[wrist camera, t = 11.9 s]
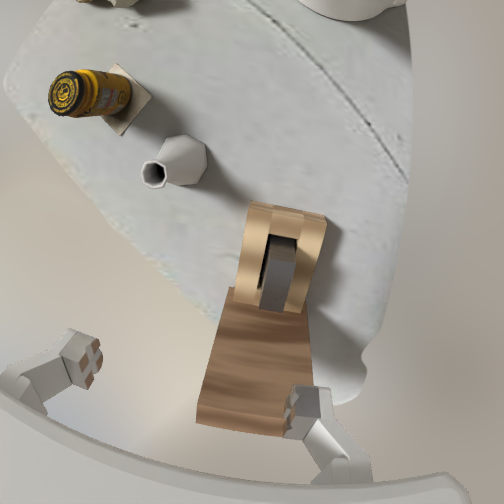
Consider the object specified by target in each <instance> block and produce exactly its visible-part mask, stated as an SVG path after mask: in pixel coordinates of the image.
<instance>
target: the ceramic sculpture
mask: <svg viewBox="0 0 504 504" xmlns="http://www.w3.org/2000/svg"><path fill="white" fill-rule="evenodd" d="M77 1H78V2H80V3H86V2H89V1H92V0H77ZM108 1H110V2H112V4H113V6H114V7H118V8H126V7H129V6H132V5H134V4H135V3H136V2H138V1H139V0H108Z"/></svg>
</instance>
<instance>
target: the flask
mask: <svg viewBox="0 0 504 504" xmlns="http://www.w3.org/2000/svg"><path fill="white" fill-rule="evenodd" d="M207 166H208V164H207V156H206V149H205V144H204V143H202V142H200V141H198V140H196V139H194V138H193V137H191V136H189V135H187V134H184V135H178V136H173V137H167V138H166V139H165V141H164V143H163V145H162V147H161V149H160V151H159V153H158V155H157V158H156V159H155V160H151V161H146V162H145V163H144V165H143V168H142V170H141V178H142V183H143V184H144V185H146V186H147V187H149V188H151V189H157V188H163V187H164V186H165V184H166V182H168V183H172V184H174V185H177V186H180V185H189V184H197V183H198V182H199V180H200V178H201V176H202V175H203V173H204V171H205V169H206V168H207Z"/></svg>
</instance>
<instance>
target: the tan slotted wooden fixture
mask: <svg viewBox="0 0 504 504" xmlns="http://www.w3.org/2000/svg"><path fill="white" fill-rule="evenodd" d="M326 228H327V222H326V220H325V217H324V215H320V214H316V213H311V212H306V211H301V210H296V209H292V208H287V207H282V206H277V205H272V204H266V203H261V202H256V201H251V202H250V205H249V208H248V214H247V219H246V225H245V231H244V237H243V242H242V248H241V254H240V260H239V266H238V272H237V278H236V284H235V288H233V287H229V290H228V294H227V297H226V301H225V304H224V308H223V311H222V315H221V319H220V322H219V326H218V329H217V333H216V337H215V340H214V344H213V347H212V351H211V355H210V358H209V362H208V366H207V369H206V373H205V377H204V380H203V385H202V388H201V392H200V395H199V399H198V403H197V414H196V423H199V424H203V425H207V426H212V427H217V428H223V429H228V430H234V431H240V432H246V433H253V434H260V435H268V436H277V437H283V424H284V422H285V420H286V419H285V418H284V416H283V411H284V404H285V400H286V398H287V395H289V394H290V389H291V386H292V385H293V384H301V385H311V386H314V384H313V372H312V360H311V349H310V338H309V328H308V318H307V309H306V301H305V298H306V295H307V292H308V289H309V285H310V282H311V279H312V276H313V272H314V269H315V266H316V262H317V259H318V256H319V252H320V249H321V245H322V242H323V238H324V235H325V231H326ZM268 233H269V234H274V235H279V236H285V237H290V238H295V243H294V245H295V256H296V267H295V270H294V274H293V278H292V281H291V285H290V289H289V292H288V296H287V299H286V303H285V306H284V310H283V313H279V312H273V311H267V310H262V309H259V301H260V292H261V283H262V277H259V275H260V271H261V266H262V261H263V256H264V252H265V247H266V242H267V237H268Z"/></svg>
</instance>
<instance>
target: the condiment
mask: <svg viewBox="0 0 504 504" xmlns="http://www.w3.org/2000/svg"><path fill="white" fill-rule="evenodd" d="M151 98H152V96H151V95H150V94H149V93H148V92H147V91H146V90H145V89H143V88H142V87H141V86H140V85H139V84H138V83H137V82H136V81H135V80H134V79H133V78H132V77H131V76H130V75H129V74H127V73H126V72H125V71H124V70H123V69H122V68H121V67H120V66H119V65H118V64H116V63H115V64H114V65H113V67H112V68H111V69H110V70H109V72H108V73H107V72H102V71H95V70H86V69H82V70H77V71H66V72H63V73H61V74H60V75H58V76H57V77H56V78H55V80H54V81H53V83H52V85H51V86H50V90H49V94H48V102H49V106H50V108H51V110H52V111H53V112H54V113H55V114H57V115H58V116H70V117H73V118H80V117H90V116H101V117H102V118H103V119H104V121H105V122H106V123H108V125H109V126H111V128H112V129H113V130H114V131H115V132H116V133H117V134H118V135H119V136H120V135H121V134H122V132H123V131H124V130H125V129H126V128H127V126H128V125H129V124H130V123H131V122H132V120H133V119H134V118H135V117H136V115H137V114H138V113H139V112H140V111H141V109H142V108H143V107H144V106H145V105H146V104H147V102H148V101H149V100H150V99H151Z"/></svg>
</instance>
